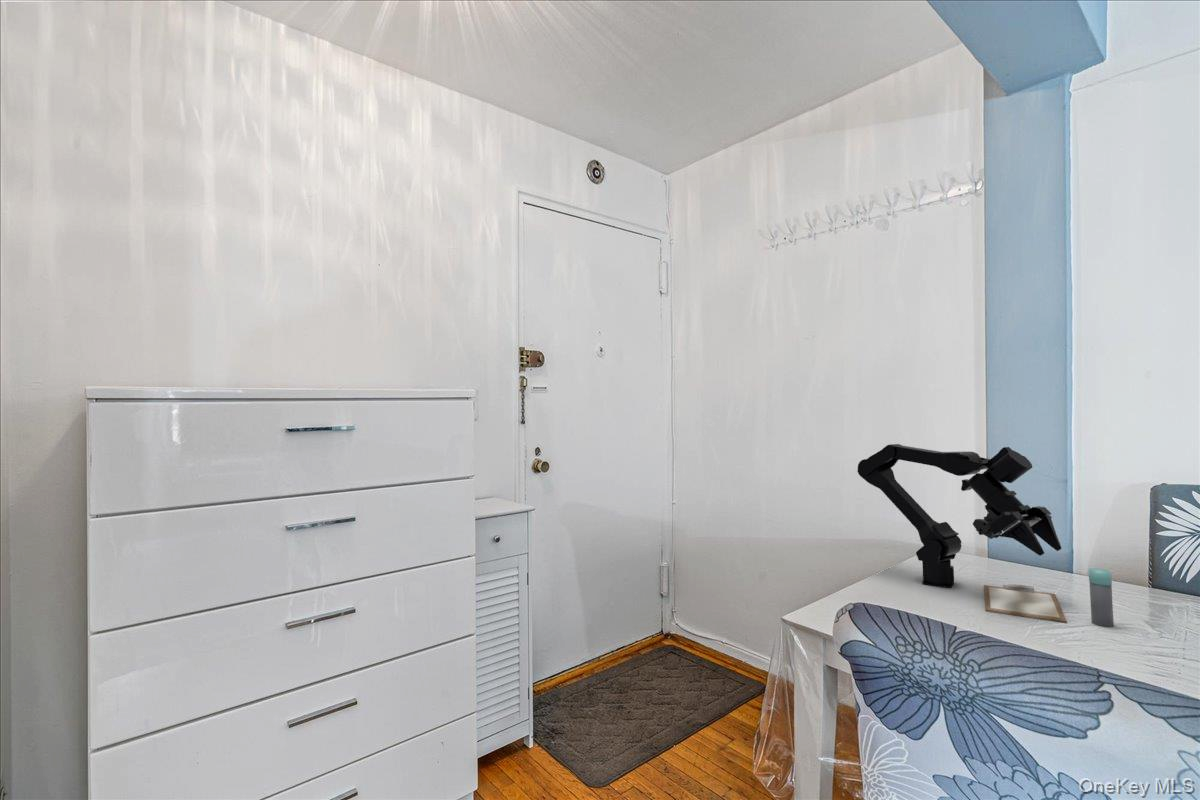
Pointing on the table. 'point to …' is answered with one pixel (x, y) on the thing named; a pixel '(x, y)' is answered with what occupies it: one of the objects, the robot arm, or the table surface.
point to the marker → (1101, 597)
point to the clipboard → (1023, 602)
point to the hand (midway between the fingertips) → (1051, 552)
